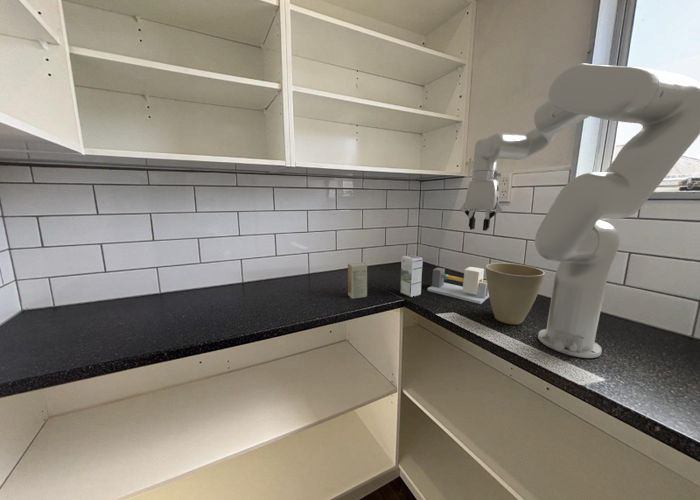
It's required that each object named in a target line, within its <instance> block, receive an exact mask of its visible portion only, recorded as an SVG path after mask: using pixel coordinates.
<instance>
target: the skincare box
mask: <svg viewBox="0 0 700 500" xmlns="http://www.w3.org/2000/svg"><path fill="white" fill-rule="evenodd" d="M347 295H348V297H349V298H350V299H353V300H354V299H360V298H366V297H368V265H367V264H366V263H364V262H355V263H352V262H351V263H348V264H347Z"/></svg>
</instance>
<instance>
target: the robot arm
mask: <svg viewBox="0 0 700 500" xmlns="http://www.w3.org/2000/svg"><path fill="white" fill-rule="evenodd" d="M547 97H548V100H547V101H546V102H544V103H542V104H541V105H540V106H538V107H537V108H536V110H535V112H534V114H533V122H534V126H535V128H533V129H531V130H529V131H528V132H526V133H524V134H520V133H519V134H518V133H509V132H508V133H506V132H498V133H497V132H496V133H494V134H491V135H490V136H488V137H485V138H481V139H478V140H477V141H476V142H475V145H474V154H473V161H472V162H473V164H472V176H471V181H469V182H468V183H469V184H468V186H467V191H466V195H465V202H464V203H463V205H462V206H460V210H461V212H463V213H464V214H465V215H466V216H467V218H468V219H469V221H468V227H469V230H471V231H472V230H474V229H476V228H475V226H476V219H477V218H476V217H475V216H476V212H477V211H484V214H485V218H483V223H482V224H483V225H482V231H484V232H486V231H488V230H489V228H490V225H491V224H490V223H491V219H492V218H493V217H494V216H496V215H497V214H500V213H502V212H503V207H501V204H500V182H499V180H497V179H498V178H500V177H501V176H502V173H501V172H498V163H499V162H498V161H499V160H513V161H514V160H515V161H519V160H520V161H521V160H524V159H527V158H529V157H531V156H533V155H536V154H537V153H539V152H541V151H543V150H545V149H546V148H547V147H548V146H549V145H550V144H551V143H552V142H553V141H554V139H555V137H556V136H557V134H559V133H561V132H563V131H565V130H567V129H568V128H571V127H572V126H574V125H576V124H577V123H580V122H582V121H583V120H586V119H587V118H589V117H593V118H597V119H600V120H601V119H602V120H606V121H613V122H619V123H630V124H632V123H633V124H639V125H641V126H642V128H641V129H640V130H639V131H638V132H637V133H636V134H635V135H634V136H633V137H631V138H630V139H629V140H628V141H627V142H626V143H625V144H623V145H624V146H622V148H621V149H620V150H619V151H618V153H617V155H616V156H615V158H614V160H613V161H612V162H611V163H610V165H609V167H608V168H607V169H606V170H605V171H603V172H602V171H601V172H600V171H596V172H595V171H593V172H587V173H583V174H582V173H581V175H578V176H576V177H574V178H572V179H571V180H570V181H568V182H567V184H565V185H564V186H563V187H562V189H561V190H560V191H559V193H558V194H557V196H556V198H555V199H554V201H553V203H552V205H551V207H550V208H549V210H548V211H547V213H546V215H545V217H543V220H542V222H541V223H540V225H539V227H538V228H537V230H536V233H535V237H534V238H535V239H534V246H535V251H537V253H538V255H540V257H541V258H543V259H546V260H548V261H552V262H559V264H558V266H557V268H556V270H555V276H554V278H553V279H554V280H553V287H552V293H551V297H550V305H549V310H548V316H547V317H548V318H547V322H546V324H547V325H546V328H544V329H541V330H539V331H538V334H537V339H538V340H539V341H540V343H542V344H543V345H545V346H546V347H548V348H550V349H552V350H554V351H556V352H558V353H562V354H564V355H567V356H570V357H577V358H583V359H594V358H598V357H600V356H601V355H602V351H603V349H602V347H601V345H599V344H598V342H595V341H596V336H597V330H598V326H599V321H600V315H601V311H602V306H603V301H604V295H605V290H606V287H607V282H608V277H609V274H610V273H609V272H610V269H611V266H612V264H613V262H614V260H615V257H616V255H617V253H618V250H619V248H620V242H621V239H620V234H619V232H618V230H617V229H616V227H615V226H614V225H612V224H611V223H609V222H607V221H605V220H619V219H624V218H625V219H626V218H629V217H631V216H633V215H635V214H636V213H637V212H638V211H639V210H641V208H642V207H643V206H644V204H645V203H646V202H647V201H648V200H649V198H650V197H651V196H652V194H654V192H655V191H656V189H657V188H658V187H659V186H660V184H661V183H662V182H663V181H664V179H665V178H666V177H667V175H668V174H669V173H670V172H671V170H672V169H673V168H674V166H675V165H676V164H677V163H678V161H679V160H680V158H681V157H682V156H683V155H684V154H685V153H686V151H687V150H688V149H689V148H690V147H691V146H692V144H693V143H694V142H695V141H696V140H697V139H698V137H699V136H700V82H698V81H697V80H695V79H693V78H691V77H687V76H685V75H681V74H677V73H673V72H672V73H671V72H668V71H667V72H666V71H659V70H654V69H650V68H644V67H635V66H625V65H623V66H621V65H606V64H605V65H603V64H591V63H577V64H574V65H571V66H570V67H567V68H566V69H565V70H563V71H562V72H561V73H559V74H558V75H557V76H556V77H555V78H554V80H553V81H552V82H551V84H550V87H549V89H548V94H547Z"/></svg>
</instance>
